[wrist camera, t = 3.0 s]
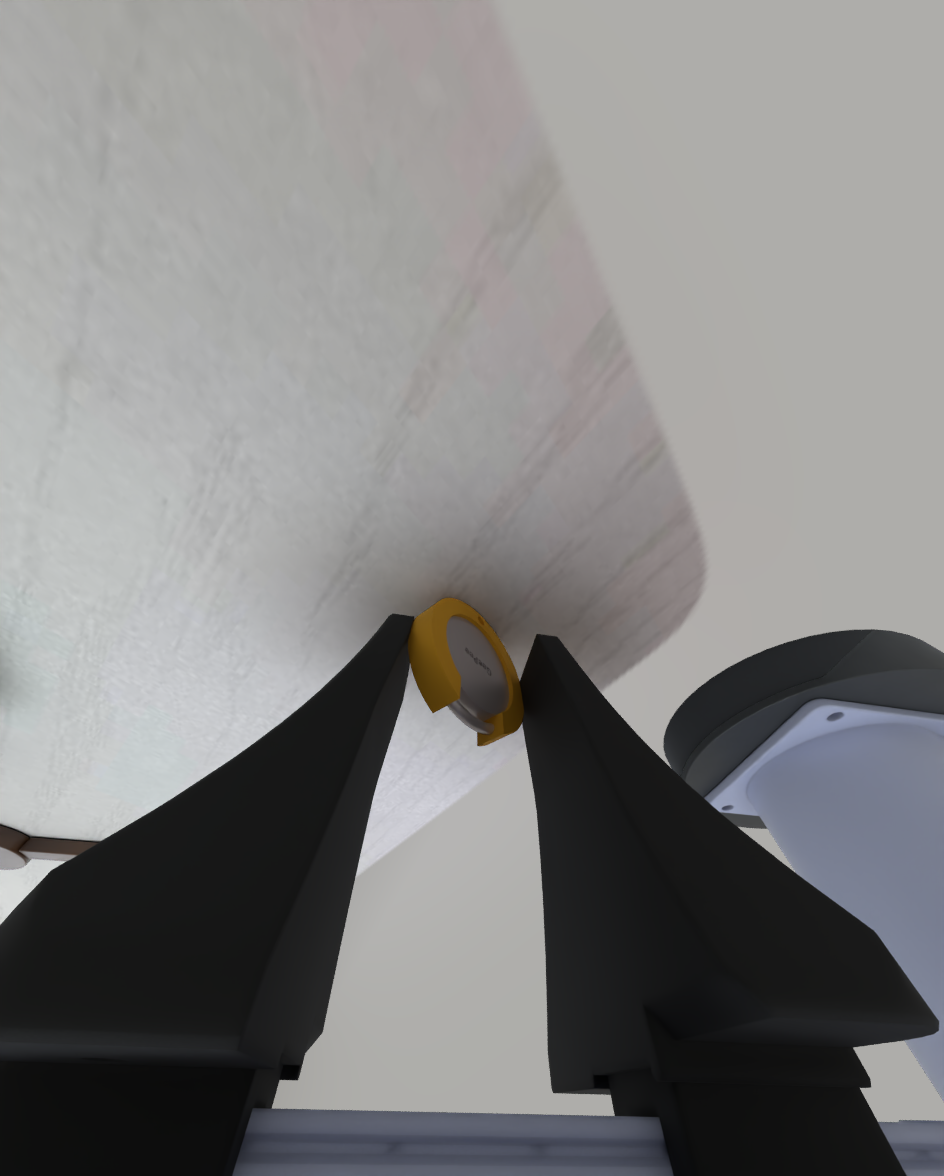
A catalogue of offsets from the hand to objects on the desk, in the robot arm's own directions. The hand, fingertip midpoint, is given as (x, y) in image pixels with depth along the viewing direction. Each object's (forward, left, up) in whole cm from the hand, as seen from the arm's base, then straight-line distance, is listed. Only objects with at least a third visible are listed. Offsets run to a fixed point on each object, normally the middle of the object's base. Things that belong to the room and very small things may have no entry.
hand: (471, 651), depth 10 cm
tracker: (0, 0, -2) cm, 2 cm away
